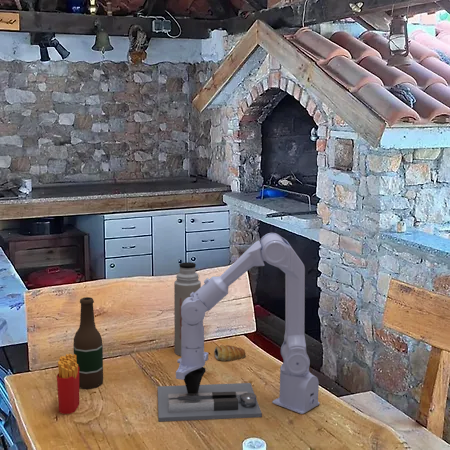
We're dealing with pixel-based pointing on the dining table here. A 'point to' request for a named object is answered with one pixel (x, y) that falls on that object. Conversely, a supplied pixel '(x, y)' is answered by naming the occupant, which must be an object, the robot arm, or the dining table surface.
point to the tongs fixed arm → (203, 405)
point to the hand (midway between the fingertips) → (192, 395)
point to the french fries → (68, 384)
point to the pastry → (229, 353)
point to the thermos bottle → (183, 296)
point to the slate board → (204, 415)
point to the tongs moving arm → (217, 397)
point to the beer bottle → (88, 348)
